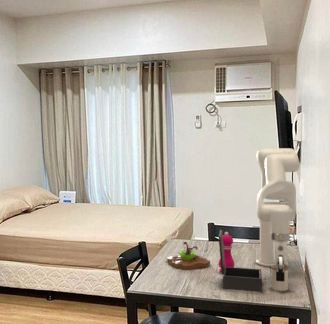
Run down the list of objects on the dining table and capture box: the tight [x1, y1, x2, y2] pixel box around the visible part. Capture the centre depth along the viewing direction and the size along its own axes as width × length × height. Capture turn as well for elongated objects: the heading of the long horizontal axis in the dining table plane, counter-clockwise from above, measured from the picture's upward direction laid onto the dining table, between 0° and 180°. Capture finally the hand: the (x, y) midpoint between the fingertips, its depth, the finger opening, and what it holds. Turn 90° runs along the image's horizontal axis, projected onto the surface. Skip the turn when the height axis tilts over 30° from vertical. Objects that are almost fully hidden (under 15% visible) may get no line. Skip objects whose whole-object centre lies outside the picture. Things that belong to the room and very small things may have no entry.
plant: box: [166, 241, 211, 271], centre depth 246 cm, size 20×20×11 cm
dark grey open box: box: [222, 266, 263, 293], centre depth 208 cm, size 16×15×6 cm
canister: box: [270, 265, 289, 292], centre depth 203 cm, size 7×7×10 cm
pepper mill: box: [218, 231, 235, 274], centre depth 228 cm, size 7×7×20 cm
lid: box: [218, 229, 225, 276], centre depth 210 cm, size 16×15×1 cm
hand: (279, 278), depth 203 cm, fingers closed on canister, 6 cm apart
